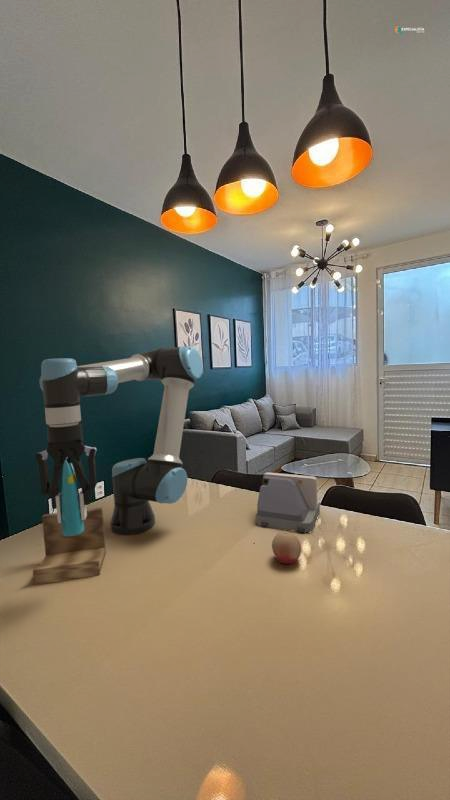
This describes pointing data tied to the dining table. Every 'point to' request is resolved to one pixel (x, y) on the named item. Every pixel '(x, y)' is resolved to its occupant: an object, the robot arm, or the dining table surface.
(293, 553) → the fruit
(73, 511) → the tube
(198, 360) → the robot arm
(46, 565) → the brown piece
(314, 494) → the instant camera
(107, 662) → the dining table surface
